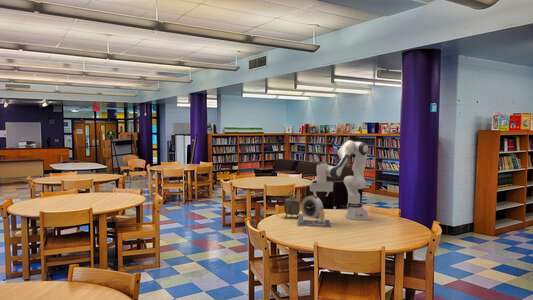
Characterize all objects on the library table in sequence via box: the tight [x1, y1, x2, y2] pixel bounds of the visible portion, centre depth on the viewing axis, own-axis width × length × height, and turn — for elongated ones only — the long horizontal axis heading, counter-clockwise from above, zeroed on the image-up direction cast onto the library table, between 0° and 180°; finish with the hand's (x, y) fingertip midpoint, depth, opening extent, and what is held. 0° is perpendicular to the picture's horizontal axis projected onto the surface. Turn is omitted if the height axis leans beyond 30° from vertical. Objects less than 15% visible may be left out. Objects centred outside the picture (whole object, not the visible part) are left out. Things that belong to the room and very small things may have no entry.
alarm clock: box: [300, 194, 324, 219], centre depth 368 cm, size 21×8×20 cm, turn 43°
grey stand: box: [303, 210, 327, 222], centre depth 336 cm, size 18×11×10 cm, turn 86°
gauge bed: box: [297, 213, 332, 228], centre depth 338 cm, size 28×16×7 cm, turn 86°
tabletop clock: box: [283, 190, 301, 219], centre depth 359 cm, size 14×9×25 cm, turn 84°
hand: (321, 196), depth 341 cm, fingers open, 8 cm apart
